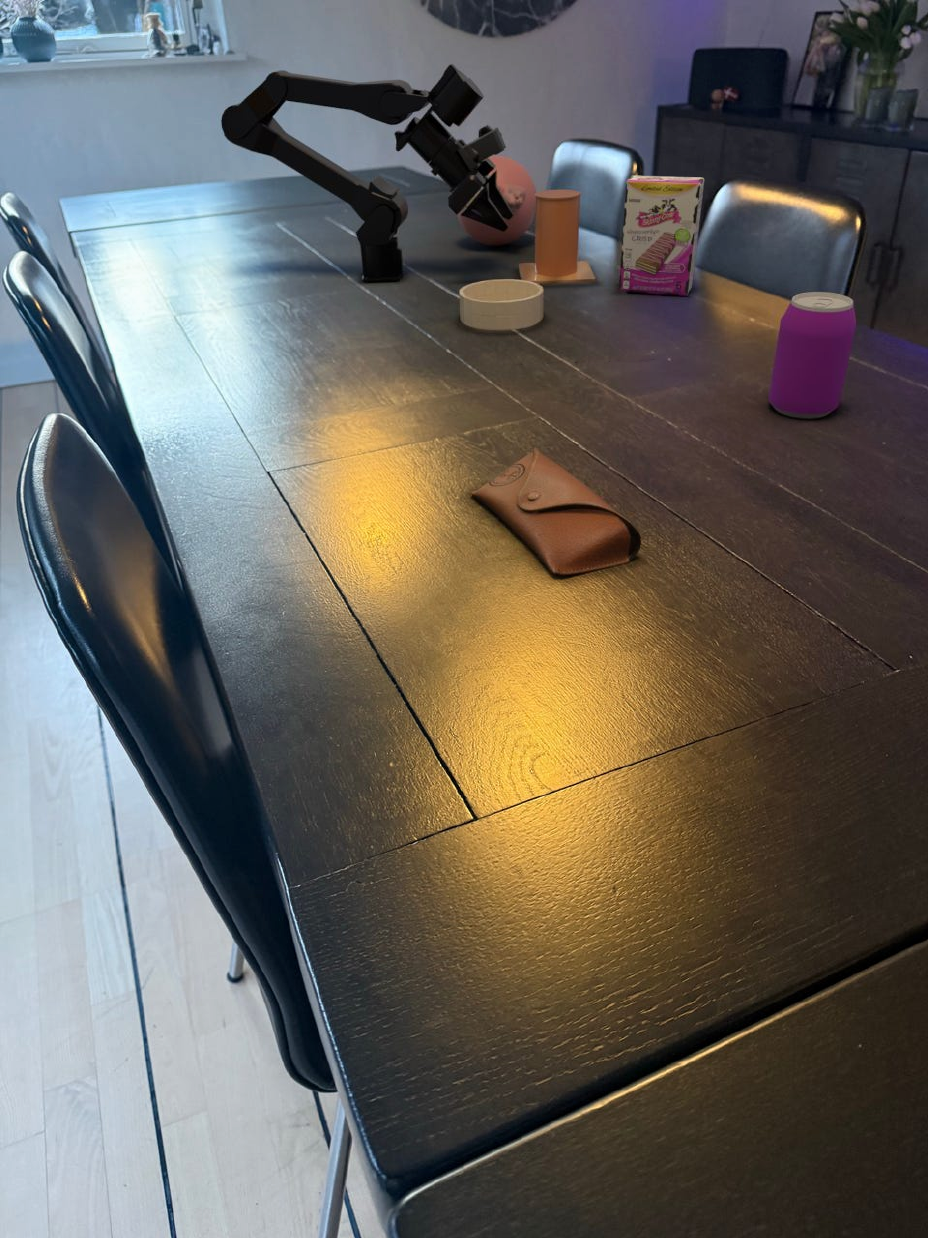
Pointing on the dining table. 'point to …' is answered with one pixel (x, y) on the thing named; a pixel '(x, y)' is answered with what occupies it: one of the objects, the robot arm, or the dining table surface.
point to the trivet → (581, 275)
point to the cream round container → (501, 304)
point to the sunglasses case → (560, 517)
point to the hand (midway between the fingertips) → (508, 223)
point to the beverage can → (812, 354)
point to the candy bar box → (660, 234)
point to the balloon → (517, 196)
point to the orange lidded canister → (556, 232)
